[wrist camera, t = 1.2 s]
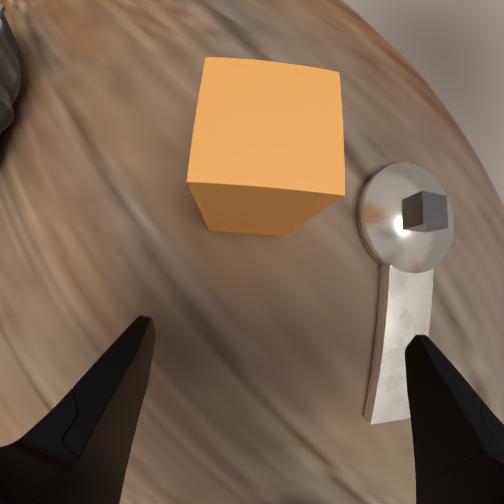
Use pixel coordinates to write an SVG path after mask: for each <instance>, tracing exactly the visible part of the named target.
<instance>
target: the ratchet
mask: <svg viewBox="0 0 504 504" xmlns="http://www.w3.org/2000/svg"><path fill="white" fill-rule="evenodd" d="M356 219H357V227H358V231H359V235H360V238H361V240H362V243H363V244H364V246H365V248H366V250H367V251H368V253H369V254H370V256H371V257H372V258H373V259H374V260H375V261H376V262H377V263H378V264H380V284H379V300H378V312H377V323H376V333H375V342H374V351H373V359H372V366H371V373H370V380H369V386H368V392H367V398H366V404H365V409H364V415H363V417H364V418H365V419H366V420H367V422H368V423H369V424H377V423H383V422H390V421H396V420H401V419H407V418H411V417H410V409H409V401H408V394H407V384H406V367H405V349H406V347H407V345H408V344H409V343H410V341H411V340H412V339H413V337H414V336H415V335H426V336H427V337H428V334H429V325H430V315H431V304H432V289H433V268H434V267H436V266H437V265H438V264H439V263H440V262H441V261H442V260H443V259H444V257H445V256H446V254H447V253H448V251H449V249H450V246H451V243H452V239H453V233H454V217H453V211H452V207H451V203H450V201H449V198H448V196H447V194H446V192H445V190H444V188H443V187H442V185H441V184H440V183H439V181H438V180H437V179H436V178H435V177H434V176H433V175H432V174H431V173H429V172H428V171H427V170H425V169H423V168H422V167H420V166H417V165H414V164H411V163H395V164H392V165H389V166H387V167H386V168H384V169H382V170H381V171H380V172H378V173H377V174H375V175H374V176H373V177H371V178H370V179H369V180H368V181H367V183H366V184H365V185H364V187H363V189H362V191H361V193H360V195H359V198H358V203H357V210H356Z"/></svg>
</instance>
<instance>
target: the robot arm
mask: <svg viewBox="0 0 504 504" xmlns="http://www.w3.org/2000/svg"><path fill="white" fill-rule="evenodd" d="M154 343H155V328H154V324H153V319H152V318H151V317H149V316H142V315H141V316H139V317H137V318H136V319H135V321H134V322H133V323H132V324H131V325H130V326H129V327H128V328H127V329H126V330H125V331H124V332H123V333H122V334H121V335H120V336H119V338H118V339H117V340H116V341H115V342H114V343H113V344H112V345H111V346H110V347H109V348H108V349H107V350H106V352H105V353H104V354H103V355H102V356H101V357H100V358H99V359H98V360H97V361H96V362H95V364H94V365H93V366H92V367H91V368H90V369H89V370H88V371H87V372H86V374H85V375H84V376H83V377H82V378H81V379H80V380H79V381H78V382H77V384H76V385H75V386H74V387H73V389H71V390H70V391H69V392H68V394H67V395H66V396H65V397H64V398H63V399H62V400H61V401H60V402H59V403H58V404H57V405H56V406H55V407H54V408H53V409H52V410H51V411H50V412H49V413H48V414H47V415H46V416H45V417H44V418H43V419H42V420H40V421H39V422H38V423H37V424H36V425H35V426H34V427H33V428H32V429H30V430H29V431H28V432H27V433H26V434H25V435H24V436H23V437H21V438H20V439H19V440H17V441H15V442H14V443H12V444H9V445H6V446H3V447H0V504H119V502H120V497H121V492H122V487H123V482H124V477H125V473H126V468H127V464H128V459H129V455H130V451H131V446H132V442H133V438H134V434H135V430H136V426H137V422H138V418H139V414H140V410H141V406H142V403H143V399H144V395H145V391H146V388H147V384H148V380H149V374H150V367H151V361H152V355H153V349H154ZM405 367H406V384H407V394H408V401H409V409H410V417H411V425H412V435H413V445H414V457H415V473H416V504H504V425H503V423H502V422H501V421H500V420H499V419H498V418H497V417H496V416H495V415H494V414H493V412H492V411H491V410H490V409H489V408H488V406H487V405H486V404H485V403H484V401H483V400H481V398H480V397H479V395H478V394H477V393H476V392H475V391H474V389H473V388H472V387H471V386H470V385H469V383H468V382H467V381H466V380H465V379H464V377H463V376H462V375H461V374H460V373H459V372H458V370H457V369H456V368H455V367H454V366H453V365H452V363H451V362H450V361H449V360H448V359H447V358H446V357H445V355H444V354H443V353H442V352H441V351H440V350H439V349H438V348H437V346H436V345H435V344H434V343H433V342H432V341H431V340H430V339H429V338H428V337H427V336H426V335H415V336H414V337H413V339H412V340H411V341H410V343H409V344H408V345H407V347H406V349H405Z"/></svg>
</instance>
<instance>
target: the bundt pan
mask: <svg viewBox="0 0 504 504" xmlns="http://www.w3.org/2000/svg"><path fill="white" fill-rule="evenodd" d="M4 11H5V8H4V6H3V5H0V134H1V133H2V132H3V131H4V130H5V129H6V128H7V127H9V126H10V125H11V123H12V122H13V119H14V112H13V108H12V104H13V102H14V101H15V99H16V97H17V95H18V92H19V89H20V85H21V68H20V64H19V62H20V50H19V46H18V44H17V42H16V39H15V37H14V35H13V33H12V31H11V29H10V27H9V25H8V22H7V20H6V18H5V16H4V14H3V13H4Z"/></svg>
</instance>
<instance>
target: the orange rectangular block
mask: <svg viewBox="0 0 504 504" xmlns="http://www.w3.org/2000/svg"><path fill="white" fill-rule="evenodd" d="M187 184H188V186H189V188H190V190H191V192H192V195H193V197H194V199H195V201H196V203H197V206H198V208H199V210H200V212H201V214H202V216H203V218H204V221H205V223H206V225H207V227H208V229H209V231H215V232H230V233H244V234H258V235H272V236H287V235H288V234H290V233H291V232H292V231H294V230H295V229H297V228H298V227H300V226H301V225H303V224H304V223H306V222H307V221H308V220H310V219H311V218H313V217H314V216H316V215H317V214H319V213H320V212H322V211H323V210H324V209H326V208H327V207H329V206H330V205H332V204H333V203H335V202H336V201H338V200H339V199H340V198H342V197H343V196H345V173H344V138H343V118H342V102H341V88H340V76H339V72H335V71H330V70H325V69H319V68H313V67H307V66H301V65H294V64H287V63H279V62H271V61H261V60H250V59H237V58H217V57H206V59H205V65H204V70H203V75H202V81H201V86H200V92H199V98H198V104H197V110H196V117H195V123H194V130H193V137H192V144H191V151H190V159H189V167H188V175H187Z"/></svg>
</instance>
